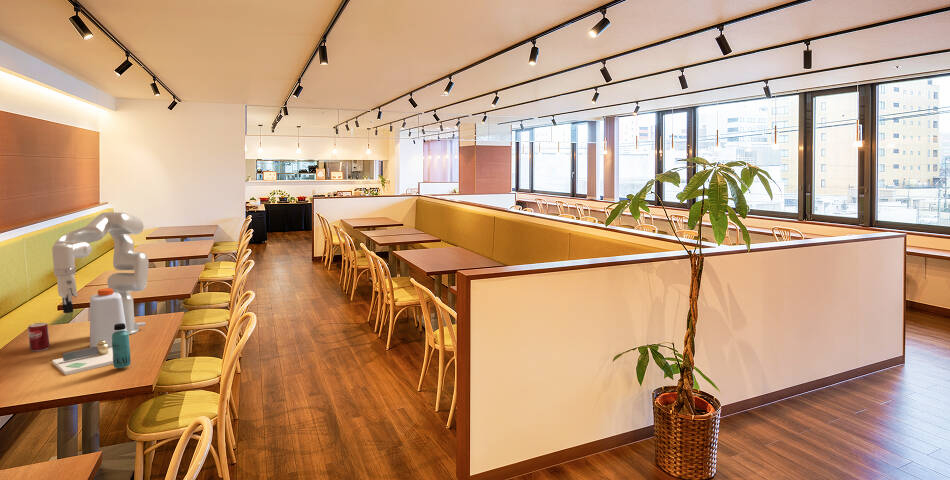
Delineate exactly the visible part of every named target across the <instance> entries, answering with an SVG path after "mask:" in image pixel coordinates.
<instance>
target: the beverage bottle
mask: <svg viewBox="0 0 950 480" xmlns="http://www.w3.org/2000/svg"><path fill="white" fill-rule="evenodd" d="M125 328H126V327H125V324H124V323H119V324H115V325H114V330H121V331H116V332H114V333H113V334H112V349H113V364H112V365H113V368H115V369H122V368H128V367H129V366H131V363H132V362H131V361H132V360H131V348H130V346H131V345H130V334H129V333H128V332H127V331H124V330H123V329H125Z"/></svg>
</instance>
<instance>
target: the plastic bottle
mask: <svg viewBox="0 0 950 480" xmlns="http://www.w3.org/2000/svg"><path fill="white" fill-rule="evenodd" d="M89 301H90V302H89V348H91V347H96V345H97V344H98V341H101V340H105V341H106V343H108V348H111V347H112V334H113V333H114V332H116V331H121V330H114V325H115V324H119V323H124V324H125V327H126V322H125V316H124V310H123V303H122V297H121V295H120V294H119V293H113V289H111V288H101V289H98V290H97V293H95V294H93V295H91V296H90V298H89ZM123 330H124V331H127V329H126V328H125V329H123Z"/></svg>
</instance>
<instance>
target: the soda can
mask: <svg viewBox="0 0 950 480" xmlns="http://www.w3.org/2000/svg"><path fill="white" fill-rule="evenodd" d="M27 332H28V333H27V334H28V342H29V344H28V345H29V350H30V351H31V352H42V351H45V350H46V351H47V350H48V349H49V348H50V347H51V345H50V344H51V343H50V334H49V325H48V323H47V322H36V323H31V324H29V325H28V326H27Z"/></svg>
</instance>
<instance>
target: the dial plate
mask: <svg viewBox="0 0 950 480" xmlns="http://www.w3.org/2000/svg"><path fill="white" fill-rule="evenodd" d="M51 361H52V362H51V363H52V364H53V365H54V366H55V367H56V368H57V369H58V370H59V371H60V372H62V373H63V375H65V376H68V375H73V374H76V373H82V372H87V371H89V370H90V371H91V370H93V369H98V368H103V367H107V366H111V364H112V365H114V364H113V349H112V347H111V348H108V353H106V354H101V355H98V354H96V355H91V356H87V357H82V358H77V359H73V360H68V361H63V357H60V358H55V359H52V360H51Z"/></svg>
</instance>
